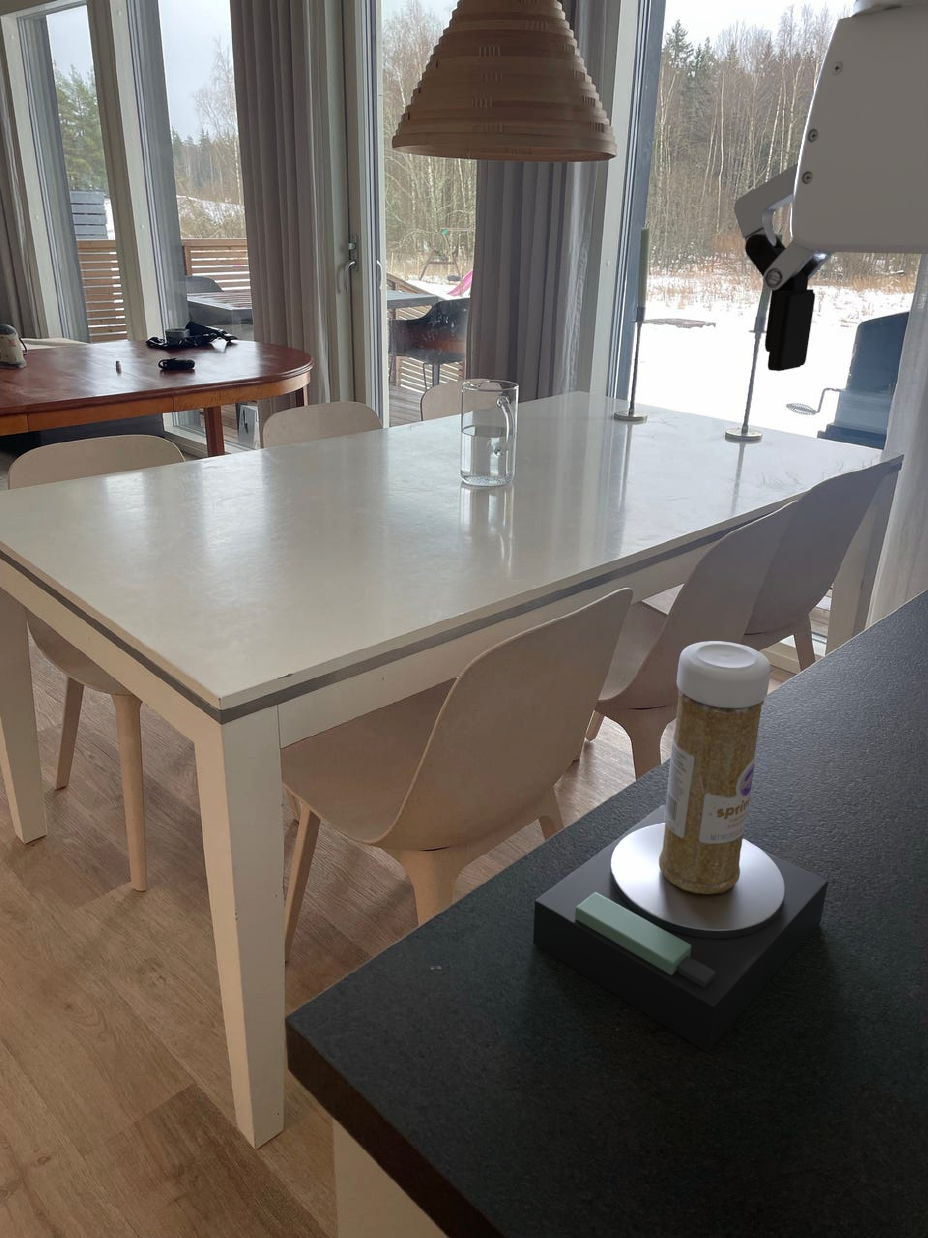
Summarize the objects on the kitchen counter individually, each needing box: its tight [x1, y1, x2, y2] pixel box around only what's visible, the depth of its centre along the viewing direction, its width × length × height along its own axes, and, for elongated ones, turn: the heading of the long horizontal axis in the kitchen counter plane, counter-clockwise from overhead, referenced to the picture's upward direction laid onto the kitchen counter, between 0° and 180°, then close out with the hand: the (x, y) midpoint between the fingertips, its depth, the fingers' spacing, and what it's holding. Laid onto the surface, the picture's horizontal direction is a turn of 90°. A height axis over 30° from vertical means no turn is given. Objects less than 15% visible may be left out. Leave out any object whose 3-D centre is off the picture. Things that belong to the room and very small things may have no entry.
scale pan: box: [610, 823, 785, 939], centre depth 53 cm, size 10×10×1 cm
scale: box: [532, 804, 829, 1053], centre depth 52 cm, size 13×11×4 cm
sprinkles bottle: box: [659, 640, 772, 894], centre depth 50 cm, size 5×5×13 cm
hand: (876, 377), depth 47 cm, fingers open, 9 cm apart
